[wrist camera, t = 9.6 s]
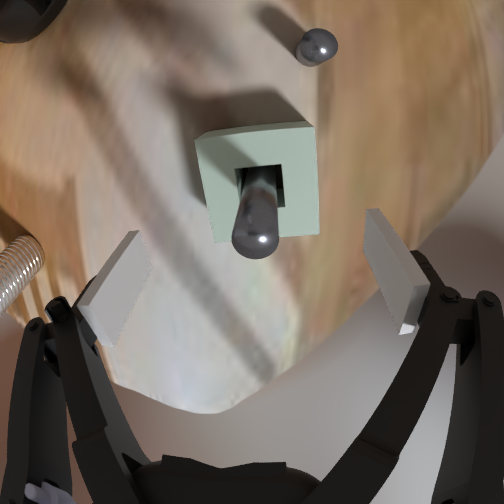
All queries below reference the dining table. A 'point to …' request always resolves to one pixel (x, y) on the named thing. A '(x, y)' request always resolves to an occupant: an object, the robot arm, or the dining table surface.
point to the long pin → (257, 215)
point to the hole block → (259, 154)
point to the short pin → (316, 47)
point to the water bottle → (18, 268)
